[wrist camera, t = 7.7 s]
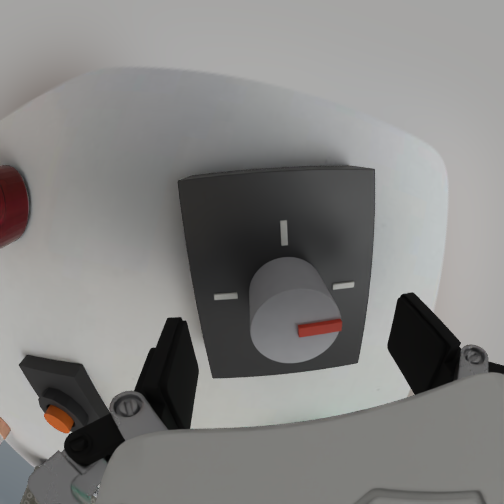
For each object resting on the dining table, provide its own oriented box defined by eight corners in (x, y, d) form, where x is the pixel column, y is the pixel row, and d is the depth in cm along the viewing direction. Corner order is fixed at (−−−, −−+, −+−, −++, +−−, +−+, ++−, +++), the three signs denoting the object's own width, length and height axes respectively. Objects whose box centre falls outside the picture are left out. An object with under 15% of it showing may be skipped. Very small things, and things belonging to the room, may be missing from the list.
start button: (44, 401, 22) (39, 410, 20) (65, 407, 22) (59, 417, 20) (58, 420, 23) (53, 429, 21) (79, 426, 23) (74, 436, 21)
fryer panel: (191, 175, 18) (176, 180, 14) (350, 165, 18) (376, 169, 14) (216, 346, 23) (212, 380, 19) (343, 333, 23) (358, 364, 19)
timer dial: (253, 325, 17) (255, 371, 13) (244, 261, 16) (244, 298, 12) (321, 316, 17) (340, 359, 13) (321, 252, 16) (345, 285, 12)
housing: (26, 354, 24) (11, 373, 20) (82, 364, 24) (67, 388, 20) (66, 416, 28) (56, 435, 24) (121, 429, 28) (113, 451, 24)
